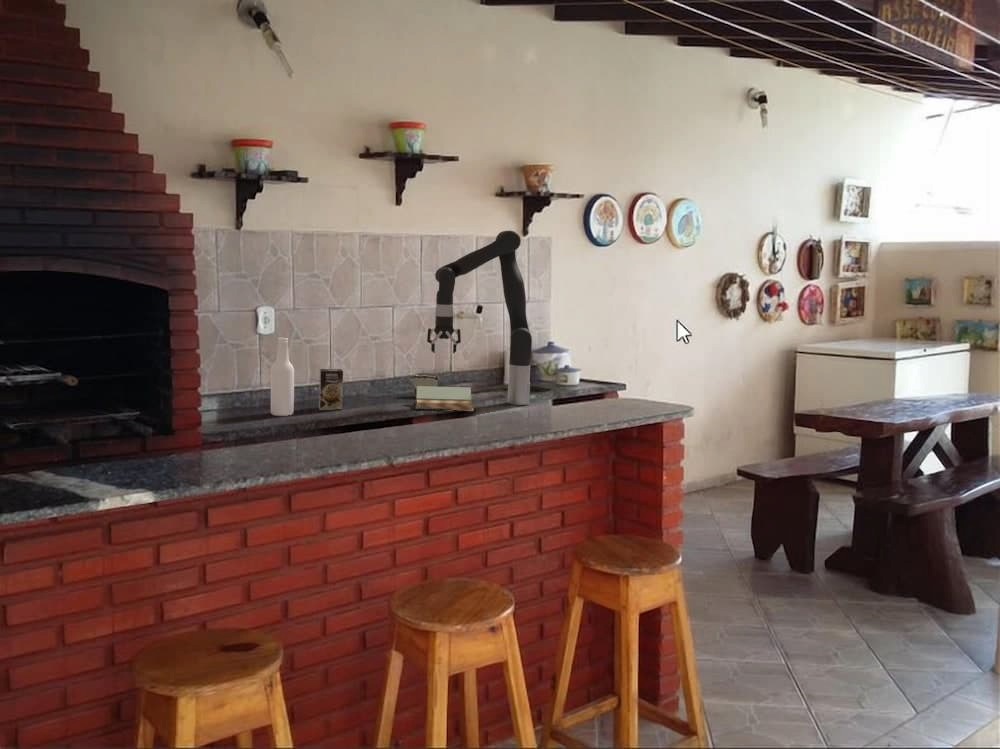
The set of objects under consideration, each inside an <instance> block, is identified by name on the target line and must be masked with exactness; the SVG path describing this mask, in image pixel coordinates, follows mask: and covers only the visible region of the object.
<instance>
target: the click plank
mask: <svg viewBox="0 0 1000 749" xmlns="http://www.w3.org/2000/svg"><path fill="white" fill-rule="evenodd" d="M417 400H444V401H471V402H472V389H471V387H466V386H465V387H462V386H437V387H432V386H417V397H416V401H417Z"/></svg>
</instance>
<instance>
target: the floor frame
mask: <svg viewBox="0 0 1000 749" xmlns="http://www.w3.org/2000/svg"><path fill="white" fill-rule="evenodd" d="M416 401H417V406H418V407H431V408H445V409H453V410H457V411H460V412H461V411H462V412H463V411H465V412H474V411H475V410H474V407H473V408H472V406H473V402H472V400H471V401H444V400H417V399H416ZM453 410H452V411H453ZM457 411H456V412H457Z"/></svg>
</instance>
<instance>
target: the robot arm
mask: <svg viewBox="0 0 1000 749" xmlns="http://www.w3.org/2000/svg"><path fill="white" fill-rule="evenodd" d="M521 241H522V240H521V236H520V234H519V233H518V232H516V231H514V230H502V231H500V232H499V233H498V234H497V236H496V238H495V240H494V241H493V242H491V243H490V244H487V245H485V246H483V247H480V248H479V249H476V250H474V251H471V252H470V253H467V254H466V255H463V256H462V257H460V258H458V259H456V260H455V261H453V262H450V263H448V264H445V265H443V266H441V267H439V268H438V269H437V270H436V271H435V274H434V277H435V280H436V282H437V283H438V290H437V292H436V298H435V299H436V302H435V303H436V304H435V314H434V315H435V325H434V328H431V327H428V328H427V338H426V342H427V343H429V344H431V348H430V349H431V352H432V354H434V353H436V352H435V350H436V348H435V347H436V343H435V342H437V340H438V339H441V340H443V339H445V340H448V339H449V340H451V342H452V346H453V347H452V354H455V353H456V352H457V345H458V344H461V342H462V341H461V340H462V339H461V329H460V328H456V329H455V328H454V292H455V291H454V290H455V285H456V278H458V277H460V276H464V275H467V274H468V273H471V272H473V271H474V270H476V269H478V268H479V267H481V266H483V265H485V264H486V263H488V262H490V261H492V260H494V259H496V258H498V259H499V264H500V272H501V281H502V288H503V289H502V290H503V297H504V302H505V306H506V309H507V313H508V317H509V328H510V329H509V331H510V333H509V334H510V335H509V338H510V341H509V342H510V344H509V360H508V364H509V365H508V379H507V380H508V383H507V404H510V405H514V406H515V405H516V406H517V405H518V406H523V405H530V394H531V393H530V392H531V382H530V380H531V379H530V378H531V377H530V376H531V362H532V347H533V346H532V343H533V337H532V333H531V330H530V328H529V324H528V318H527V312H526V311H527V295H526V289H525V287H526V286H525V283H524V282H525V281H524V278H523V276H522V272H521V271H520V268H519V266H518V263H517V256H516V251H517V250H518V249H519V247H520V246H521ZM433 332H434V333H435V337H433V339H431V334H433ZM454 333H455V334H456V335H457V340H456V339H455V338H454V336H453V334H454Z"/></svg>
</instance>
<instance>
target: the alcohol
mask: <svg viewBox="0 0 1000 749" xmlns="http://www.w3.org/2000/svg"><path fill="white" fill-rule="evenodd" d="M288 340H289V338H288V337H283V336H282V337H278V338H277V347H276V348H277V349H276V360H275V362H274V363H273V364H272V365H271V368H270V413H271V415H273V416H276V417H288V415H290V416H292V415H294V413H295V412H294V411H295V410H294V409H295V407H294V406H295V405H294V403H295V368H294V365H293V364H292V363H291V362H290V356H289V341H288Z"/></svg>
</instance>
